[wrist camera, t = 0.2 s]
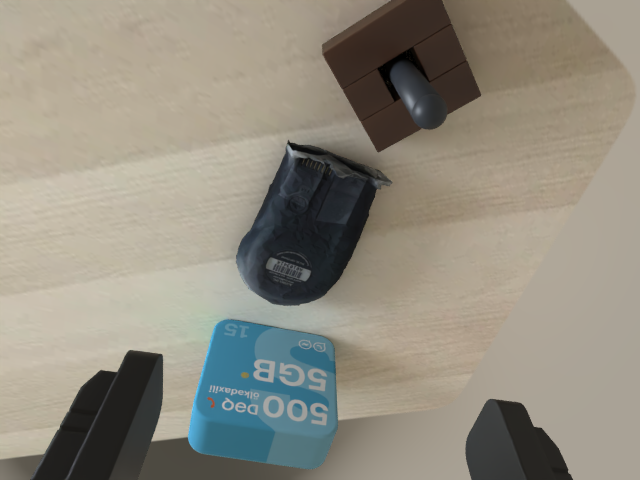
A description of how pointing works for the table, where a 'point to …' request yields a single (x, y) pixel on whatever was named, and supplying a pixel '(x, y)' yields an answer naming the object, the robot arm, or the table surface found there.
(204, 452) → the data package
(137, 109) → the table surface
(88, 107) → the table surface
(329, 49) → the pen stand
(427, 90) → the dark grey peg
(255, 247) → the electronic device
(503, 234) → the table surface
